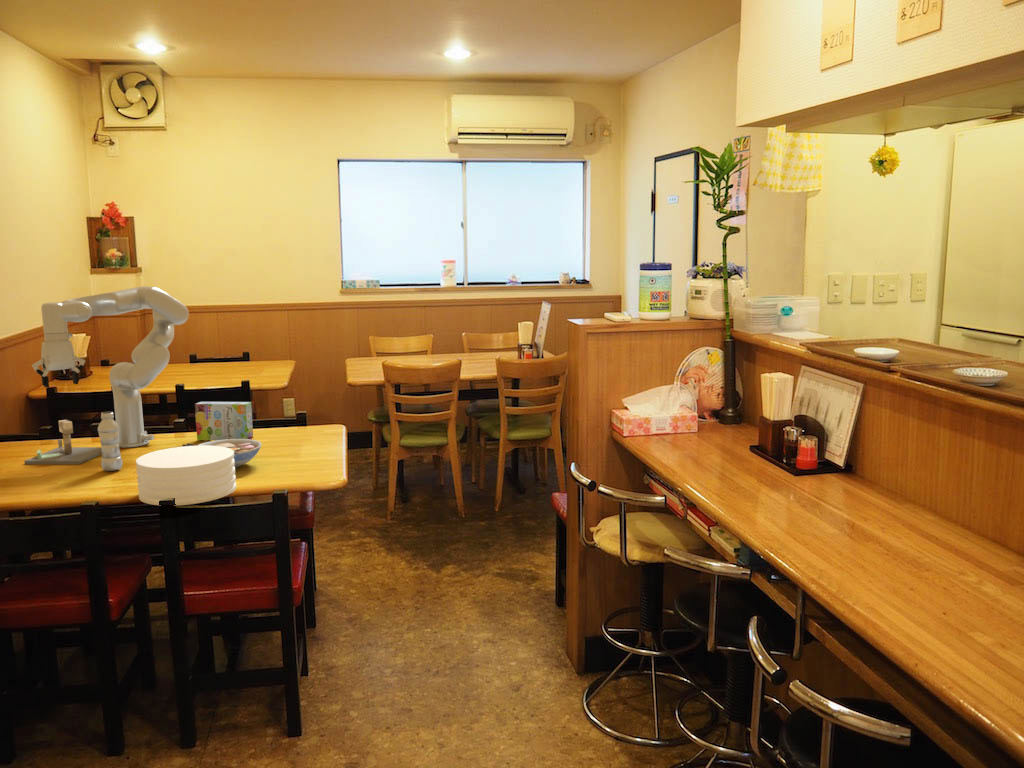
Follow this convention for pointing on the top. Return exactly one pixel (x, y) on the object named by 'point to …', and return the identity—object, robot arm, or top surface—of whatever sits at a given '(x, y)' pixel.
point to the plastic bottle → (109, 443)
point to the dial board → (65, 456)
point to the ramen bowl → (237, 448)
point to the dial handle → (65, 436)
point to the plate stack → (186, 474)
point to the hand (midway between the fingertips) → (61, 385)
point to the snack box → (223, 420)
